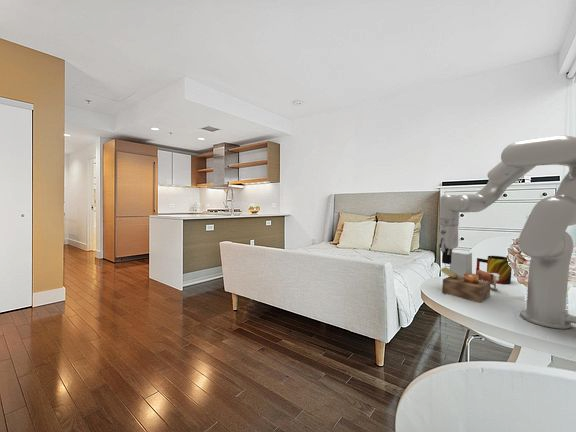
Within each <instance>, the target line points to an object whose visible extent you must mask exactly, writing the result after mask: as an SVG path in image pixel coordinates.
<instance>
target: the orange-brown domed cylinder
mask: <svg viewBox="0 0 576 432" xmlns="http://www.w3.org/2000/svg"><path fill="white" fill-rule="evenodd" d="M464 281H465V282H467V283H473V284H477V283H478V281H479V275H477V274H476V273H473V272H472V273H464Z"/></svg>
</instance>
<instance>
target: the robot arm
mask: <svg viewBox="0 0 576 432" xmlns="http://www.w3.org/2000/svg"><path fill="white" fill-rule="evenodd" d="M500 160H501V161H500V162H498V164H496V165H495V166H494V167H493V168H491V169H490V170H489V171H488V173H487V178H488V181H487V183H486V184H485V186H484V187H482V188H481V189H480V190H478V192H476V193H475V194H470V193H469V194H459V195H458V194H457V195H456V194H445V195H444V194H443V195H441V196H440V198H439V216H438V217H439V219H438V226H439V232H438V238H437V243H438V245H437V246H438V248H440V252H441V255H442V256H441V263H442V264H446V265H450V264H451V256H452V251H454V249H456V248H458V247H459V223H460V222H459V221H460V213H478V212H482V211H484V210H486V209H487V208H488V207H490V206H492V205H493V204H494V203H496V202H497V201H498V200H499V199H500V198H501V197H502V196H503V195H504V193H505V192H506V191H507V188H509V187H510V186H511V185H512V184H514V183H515V182H517V181H518V180H520V179H521V178H522V177H523V176H524V175H527V173H529V172H530V171H531V170H533V169H534V168H536V167H537V166H551V165H552V166H554V165H555V166H563V167H568V171H567V174H566V175H565V176H564V177H563V178H562V180H561V182H560V184H559V187H558V188H557V190H556V192H555V194H554V195H551V196H548V197H544V198H542V199H540V200H539V201H538V202H537V203H536V204H535V205H534V207H532V209H531V211H530V213H529V215H528V217H527V219H526V222H525V223H524V226H523V228H522V230H521V232H520V235H519V237H518V241H517V242H518V248H519V250H520V251H521V252H522V253H523V254H524V255H525V256H527V257H530V261H529V266H528V267H529V268H528V278H527V280H528V281H527V293H526V307H525V308H526V309H523V310H520V312H519V315H520V317H521V318H522V319H524V320H525V321H528V322H530V323H533V324H536V325H539V326H542V327H546V328H552V329H561V330H565V329H570V328H572V324H576V316H575V315H571V314H570V313H569V309H566V307H567V295H568V294H567V293H568V283H569V271H570V266H571V265H570V264H571V259H572V257H573V250H574V240H573V237H572V235H570V233H568V231H567V229H568V228H569V227H571V226H574V225H576V137H575V136H571V135H556V136H548V137H543V138H535V139H533V138H532V139H527V140H520V141H515V142H512V143H510V144H508V145H507V146H506V147H504V148H503V150H502V152H501V154H500Z"/></svg>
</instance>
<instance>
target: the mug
mask: <svg viewBox="0 0 576 432" xmlns="http://www.w3.org/2000/svg"><path fill="white" fill-rule="evenodd" d="M480 263H485V264H487V265H486V272H488V273H496V274H499V275H502V277H499V281H497V282H496V285H497V284H498V285H511V283H512V269H513V267H512V268H511V267H510V266H509V265H508V261H507V257H506V256H501V255H500V256H499V255H488V256H487V259H486V258H485V259H484V258H479V257H477V258H476V268H475V269H476V270H475V272H476V271H477V270H480V265H481V264H480Z"/></svg>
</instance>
